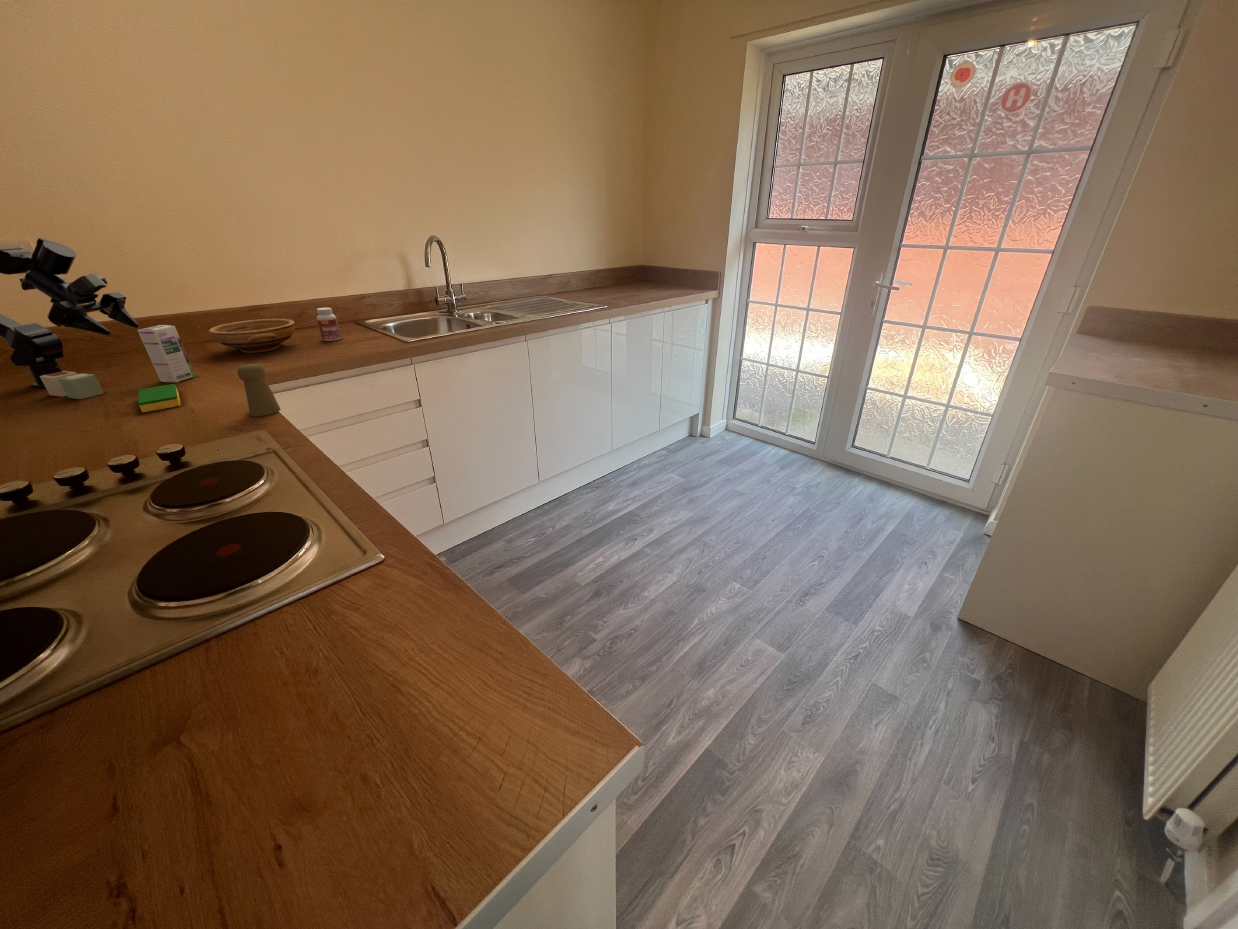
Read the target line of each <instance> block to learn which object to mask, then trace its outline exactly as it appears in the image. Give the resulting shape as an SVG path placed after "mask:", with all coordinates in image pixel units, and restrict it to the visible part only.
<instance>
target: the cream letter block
mask: <svg viewBox="0 0 1238 929" xmlns="http://www.w3.org/2000/svg"><path fill="white" fill-rule="evenodd" d="M61 371H62V370H61ZM77 374H78V373H77V372H75V371H74V372H73V371H67V370H63V371H62V372H57V373H52V374H48V375H43V376H40V378H41V380H42V382H43V384H44V385H45V387H44V388H45V389H46V391H47V393H48V394H49V396H55V397H60V398H61V397H62V398H63V397H68V396H67V395H66V393H65V391H64V389H63V387H62V385H61V383H60V381H59V378H63V377H68V376H72V375H77Z"/></svg>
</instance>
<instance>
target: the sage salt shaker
mask: <svg viewBox="0 0 1238 929" xmlns="http://www.w3.org/2000/svg"><path fill="white" fill-rule="evenodd" d="M266 371H267V370H266V368H265V367H264V366H263V365H262V364H260V363H248V364H243V365H240V366H239V367H238V368H237V376H238V378H239V379H240V380H241V381H243V385H244V390H245V395H246V400H247V405H248V406H247V407H248V411H249V415H250V416H251V417H263V416H264V417H265V416H270V415H273V414H277V413H278V412H280V411H281V407H280V405H279V403H278V400H277V399H276V397H275V395H274V393H273V391H272V388H271V387H270V385H269V383H268V381H267V379H266V377H267V372H266Z"/></svg>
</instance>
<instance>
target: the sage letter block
mask: <svg viewBox="0 0 1238 929" xmlns="http://www.w3.org/2000/svg"><path fill="white" fill-rule="evenodd" d="M59 381H60V383H61V385H62V387H63V389H64V391H65V393H66V395H67V396H66V397H67V398H68V399H73V400H74V399H75V400H84V399H87V398H91V397H95V396H96V397H97V396H100V395H103V394H104V391H103V388H102V387H101V385H100V382H99V380H98V378H97V376H96V375H95V374H91V373H85V372H84V373H83V372H82V373H81V372H80V373H77V375H72V376H68V377H63V378H59Z"/></svg>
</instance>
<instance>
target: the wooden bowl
mask: <svg viewBox="0 0 1238 929" xmlns="http://www.w3.org/2000/svg"><path fill="white" fill-rule="evenodd" d="M208 332H209V333H210V334H211V336H212V337H213V338H214V339H215V340H216V342H217V343H220V344H221V345H223V346H225V347H229V348H233V349H237V350H240V351H241V352H242V353H248V354H251V353H264V352H269V351H274V350H277V349H279V348H280V345H281V344H283V343H284V342H286V341H287V340H289V339H290V338H292V336H293V334H294V332H295V321H294V320H293V319H288V318H263V319H262V318H260V319H250V320H249V319H248V320H242V321H234V322H229V323H224V324H219V325H216V326H213V327H211V328H210V329H208Z"/></svg>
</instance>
